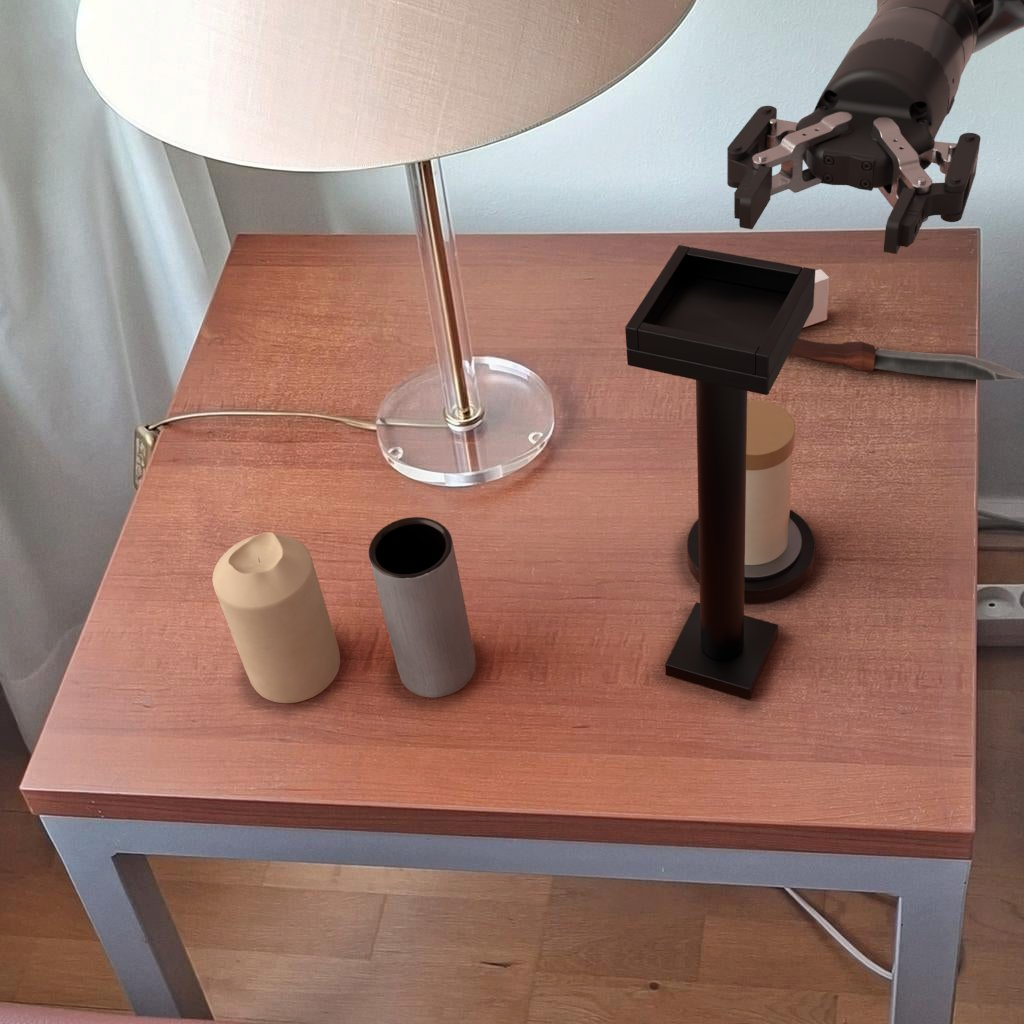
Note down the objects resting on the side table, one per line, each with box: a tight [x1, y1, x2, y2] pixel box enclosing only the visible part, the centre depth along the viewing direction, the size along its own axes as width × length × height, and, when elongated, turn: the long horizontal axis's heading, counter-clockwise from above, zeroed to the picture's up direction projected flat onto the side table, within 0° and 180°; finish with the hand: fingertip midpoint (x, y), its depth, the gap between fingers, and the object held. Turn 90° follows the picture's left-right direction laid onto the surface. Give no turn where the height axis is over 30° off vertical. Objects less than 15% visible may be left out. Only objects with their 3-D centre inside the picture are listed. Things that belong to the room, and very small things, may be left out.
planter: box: [367, 516, 476, 698], centre depth 79 cm, size 4×4×10 cm
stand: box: [624, 244, 816, 701], centre depth 72 cm, size 7×7×25 cm
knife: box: [789, 337, 1024, 381], centre depth 97 cm, size 18×2×3 cm
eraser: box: [802, 268, 830, 329], centre depth 100 cm, size 1×5×4 cm, turn 112°
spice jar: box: [745, 399, 796, 565], centre depth 82 cm, size 5×5×9 cm
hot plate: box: [686, 509, 816, 605], centre depth 85 cm, size 8×8×2 cm
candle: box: [212, 531, 341, 704], centre depth 80 cm, size 6×6×10 cm
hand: (816, 227), depth 81 cm, fingers open, 8 cm apart
